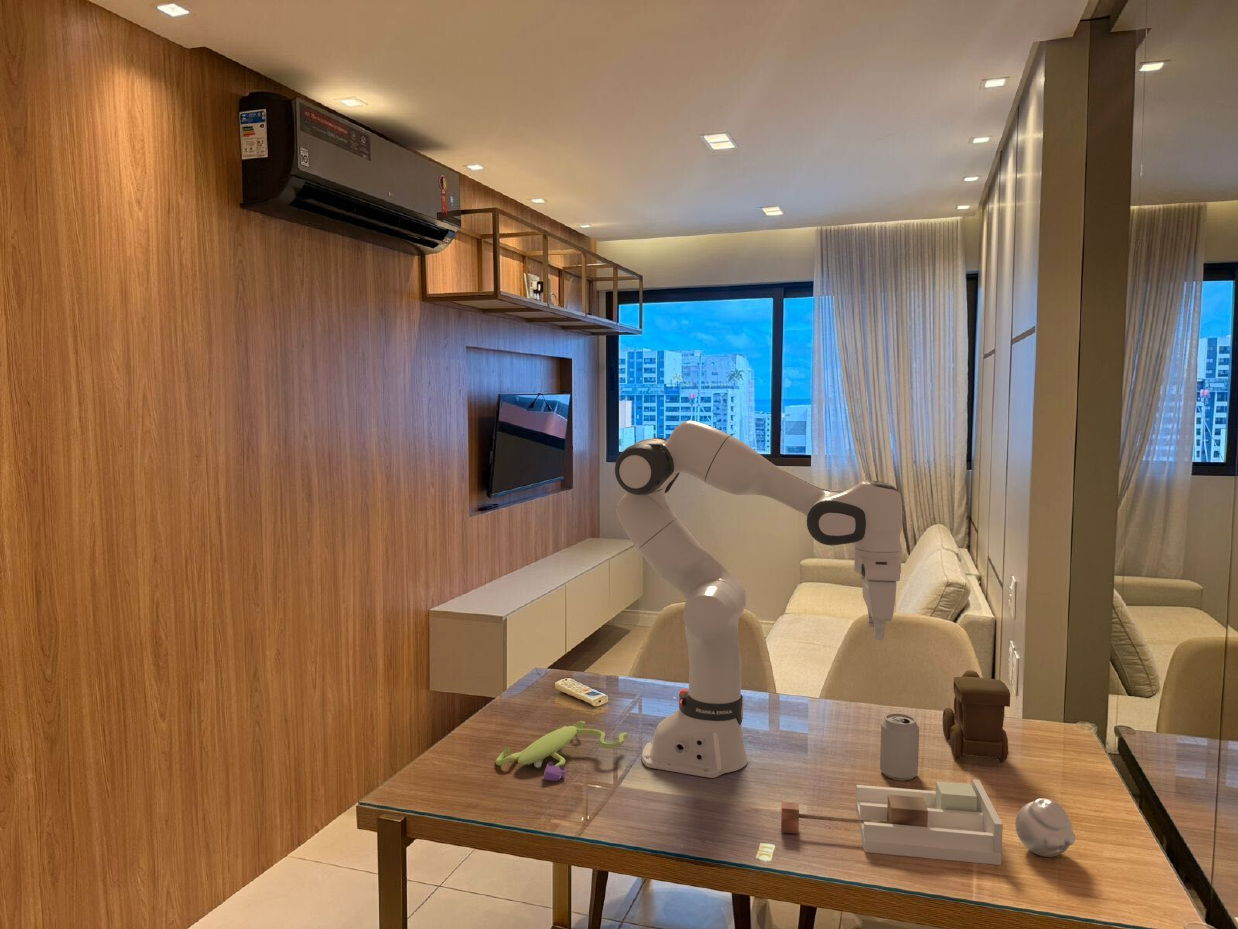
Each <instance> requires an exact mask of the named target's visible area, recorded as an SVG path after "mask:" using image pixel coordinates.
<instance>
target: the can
mask: <svg viewBox="0 0 1238 929" xmlns="http://www.w3.org/2000/svg"><path fill="white" fill-rule="evenodd" d="M919 744H920V726H919V725H918V724H917V719H916V718H915V717H914V716H911V715H909V714H906V713H898V712H893V713H892V712H891V713H887V714H886V715H885V716H884V719H883V720H882V721H881V724H880V755H879V769H880V771H881V772H882V773H883V774H884V775H885V776H886V777H888V778H889V779H893V780H895V781H910V780H913V779H914V777H916V776H918V772H919V751H920V750H919Z"/></svg>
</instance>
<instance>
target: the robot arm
mask: <svg viewBox="0 0 1238 929" xmlns="http://www.w3.org/2000/svg"><path fill="white" fill-rule="evenodd" d="M614 473H615V474H614V475H615V478H616V481H617V483H618V485H619V486H620V487H621V488H622V489H623V490H624V491H626V492H625V494H623V495H622V496H621V498H620V499H619V501H618V503H617V505H616V506H615V507H616V508H615V513H616V517H617V519H618V520H619V523H620V525H621V527H622V528H623V530H624V532H625V533H626V535H627V536H628V538H629V540H630V541H631V542H632V544H633V545H634V547H635V548H636V549H637V550H638V552H639V553H640V554H641V555H642V557H643V558H644V559H645V561H646V562H647V563H648V565H649V566H650V567H651V568H652V569H653V571H654V572H655V573H656V574H657V575H658V577H659V578H660V579H661V580H662V581H664V582H666V583H668V584H669V585H670V586H672V588H674V589H675V590H676V591H677V592H679V593H680V594H681V595H682V596H683V597H685V599H686V601H685V603H684V607H683V624H684V627H685V628H684V629H685V638H686V645H687V652H688V689H687V688H685V687H682V688H681V689H680V690H679V693H678V698H679V699H678V708H679V709H677V710H676V711H675V712H673V713H671V714H670V715H669V716H667V717H665V718H664V719H662V720H661V721H660V722H659V724H658V725H657V726H656V728H655V730H654V734H653V736H652V737H653V738H652V740H650V741H648V742H647V743H646V744H645V745H644V747H643V749H642V754H641V761H642V763H643V764H644V766H645V767H646V768H651V769H657V770H662V771H667V772H673V773H680V774H686V775H692V776H698V777H704V778H709V779H714V778H717V777H720V776H721V775H723V774H727V773H732V772H736V771H739V770H741V769H743V768H744V767H745V766H747V764H748V761H749V760H748V756H747V753H746V747H745V742H744V736H743V726H742V723H743V720H744V698H743V694H742V657H741V651H740V641H739V622H740V618H741V616H742V614H743V612H744V610H745V607H746V603H747V597H746V591H745V587H744V585H743V584H742V582H741V581H740V580H739V579H738V578H737V577H736V576H734V575H732V574H731V573H730V572H729V571H728V570H727V569H726V568H725V567H724V566H723V565H722V564H721V563H720V562H719V561H718V560H717V559H716V558H715V557H714V556H712V554H710V553H709V552H708V551H707V550H706V548H704V547H703V546H702V545H701V543H699V541H698V540H697V539H696V538H695V536H694V535H693V534H692V533H691V531H689V529H688V528H687V527H686V525H685V524H684V523H683V522H682V520H680V518H679V517H678V515H677V514H676V513H675V512H674V511H673V509H672V508H671V507H670V506H669V505H668V504H669V503H667V500H666V498H665V496H666V495H665V494H667V493H668V492H669V491H670V490H671V488H672V487H673V484H674V483H675V481H676V480H677V479H678V477H679V475H680V473H684V474H688V475H691V476H693V477H695V478H697V479H699V480H701V482H704V483H706V484H708V485H710V486H711V487H713V488H715V489H718V490H720V491H723V492H726V493H729V494H732V495H736V496H742V495H745V496H747V495H752V496H754V495H755V496H756V495H757V496H763V497H768V498H770V499H772V500H775V501H776V502H777V501H778V502H779V503H781V504H783V505H785V506H786V507H789V508H791V509H794V510H795V511H797V512H799V513H801V514H803V515H804V516H806V528H807V529H808V530H807V531H808V533H809V535H810V536H811V537H812V538H813V540H815V541H816V542H818V543H820V544H822V545H825V546H830V547H831V546H832V547H834V546H840V545H847V544H854V564H853V565H854V572H855V573H858V574H859V575H860V580H861V581H862V598H863V601H864V602H865V603H864V604H865V605H866V608H867V616H868V618H867V619H868V620H867V621H868V625H869V627H870V628H873V639H874V640H877V641H883V640H884V639H885V629H886V625H887V622H891V621H892V620H893V617H894V613H895V603H896V595H897V582H900V581H901V573H902V551H903V550H902V544H901V534H902V530H903V501H902V495H901V494H900V492H899V490H898V488H896V487H895V486H894V485H892V484H889V483H886V482H883V481H879V480H868V479H867V480H861V481H860V482H859V483H857V484H856V485H854V486H853V487H851V488H848V489H847V490H839V489H836V490H835V489H824V488H820V487H817V486H815V485H813V484H811V483H810V482H807V481H805V480H803V479H801V478H799V477H797V476H795V475H793V474H791V473H789V472H787V471H786V470H784V469H781V468H779V467H778V466H777V465H775V464H774V463H772V462H771V461H769V460H768V459H767V458H765V456H763V455H761V454H760V453H759V452H757V451H756V450H755V449H754V448H752V447H751V446H749V445H747V444H746V443H745V442H744V441H741V440H740V439H738V438H736V437H734V436H733V435H731V434H728V433H727V432H724V431H723V430H720V429H718V428H715V427H713V426H710V425H707V424H706V423H702V422H698V421H696V420H685V421H682V422H681V423H679V424H678V425H677V426H676V427H675V428H674V429H673V430H672V432H671V434H670V436H669V438H668V439H667V438H664V437H652V438H646V439H643V440H639V441H638V442H635V443H634V444H632V445H630V446H628V447H626V448H625V449H624V450H623V451H621V453H620V454H619V455H618V458H617V459H616V462H615V465H614Z"/></svg>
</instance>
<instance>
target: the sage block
mask: <svg viewBox="0 0 1238 929" xmlns="http://www.w3.org/2000/svg"><path fill="white" fill-rule="evenodd" d="M935 791H936V803H935V808H936V809H944V810H956V811H968V812H976V807H977V796H976V794H975V792H974V790H973V788H972V784H971V783H961V782H950V781H949V782H948V781H935Z"/></svg>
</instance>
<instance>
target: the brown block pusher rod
mask: <svg viewBox="0 0 1238 929" xmlns="http://www.w3.org/2000/svg"><path fill="white" fill-rule="evenodd" d="M780 814H781V815H780V816H781V819H780V821H781V822H780V823H781V824H780V826H781V827H780V830H781V831H780V832H781V833H784V834H785V833H786V834H796V835H797V834H799V826H800V823H799V821H800V819H807V820H808V819H809V820H818V821H819V820H820V821H829V822H830V821H831V822H842V823H843V822H844V823H852V824H853V823H854V824H859V823H863V824H864V822H874V823H885V824H897V825H908V826H919V827H927V825H928V810H927V807H926V804H925V801H924V799H923V798H922V797H910V796H898V795H888V805H887V821H877V820H866V819H858V818H854V817H853V818H852V817H840V816H831V815H829V816H828V815H819V814H809V813H808V814H806V813H800V804H799V803H798V802H788V801H781V813H780Z"/></svg>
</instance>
